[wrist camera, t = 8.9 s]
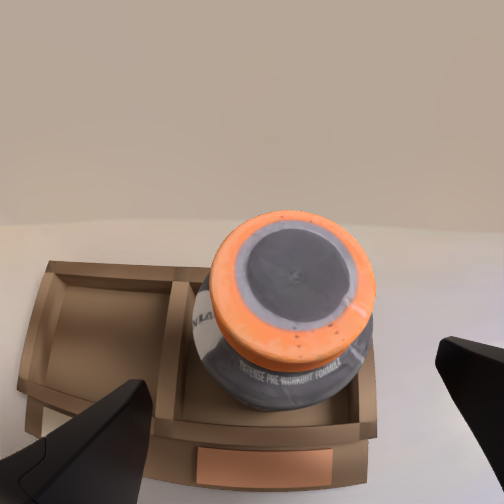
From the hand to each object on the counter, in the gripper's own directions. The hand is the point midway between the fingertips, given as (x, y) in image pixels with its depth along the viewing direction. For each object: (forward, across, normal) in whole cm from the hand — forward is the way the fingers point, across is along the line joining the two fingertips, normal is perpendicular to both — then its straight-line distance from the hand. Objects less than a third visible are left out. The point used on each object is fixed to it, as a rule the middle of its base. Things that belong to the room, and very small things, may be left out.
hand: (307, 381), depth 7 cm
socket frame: (+8, +6, +6) cm, 11 cm away
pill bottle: (+8, 0, +5) cm, 9 cm away
